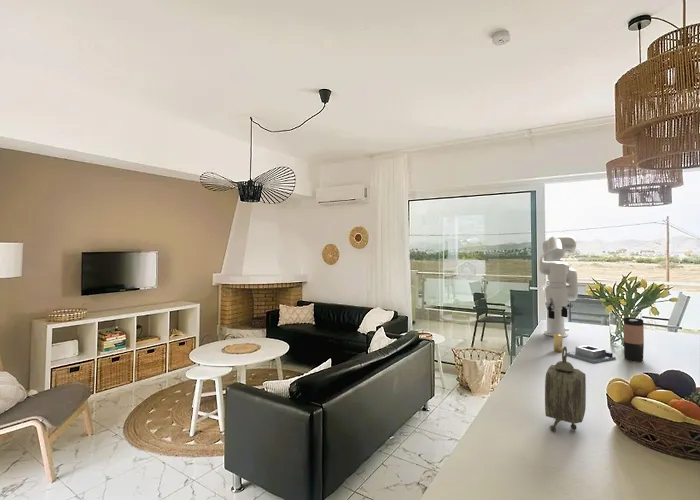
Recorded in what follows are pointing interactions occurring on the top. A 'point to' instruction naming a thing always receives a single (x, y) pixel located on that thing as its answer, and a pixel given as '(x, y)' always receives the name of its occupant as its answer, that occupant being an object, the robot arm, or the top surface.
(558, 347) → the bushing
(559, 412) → the rustic cowbell
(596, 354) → the jig
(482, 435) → the top surface
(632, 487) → the top surface
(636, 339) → the travel mug
